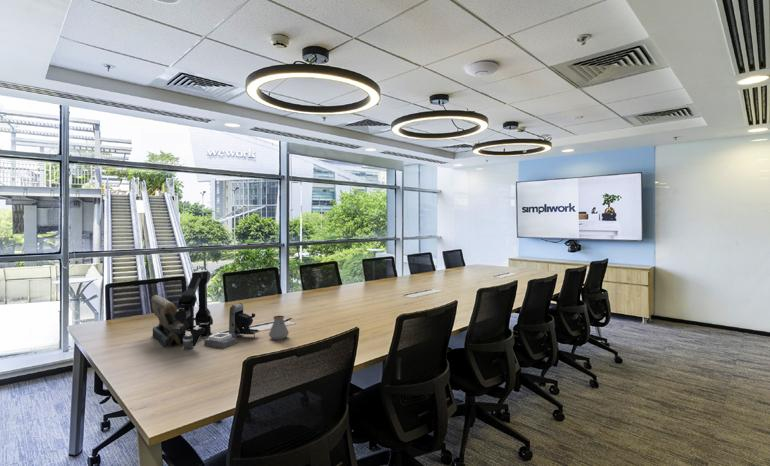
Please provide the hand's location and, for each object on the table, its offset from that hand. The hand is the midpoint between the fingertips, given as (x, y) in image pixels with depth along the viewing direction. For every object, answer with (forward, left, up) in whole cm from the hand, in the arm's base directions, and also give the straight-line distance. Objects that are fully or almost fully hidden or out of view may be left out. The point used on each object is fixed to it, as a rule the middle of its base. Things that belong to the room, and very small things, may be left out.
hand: (188, 345), depth 216 cm
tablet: (-23, +7, -2) cm, 24 cm away
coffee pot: (+37, +34, -2) cm, 50 cm away
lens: (0, 0, -2) cm, 2 cm away
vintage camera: (+13, +29, -2) cm, 32 cm away
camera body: (+10, +13, -2) cm, 16 cm away
